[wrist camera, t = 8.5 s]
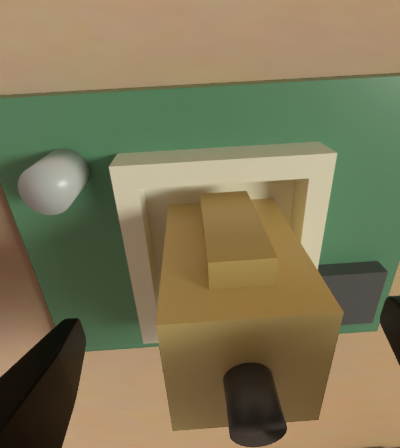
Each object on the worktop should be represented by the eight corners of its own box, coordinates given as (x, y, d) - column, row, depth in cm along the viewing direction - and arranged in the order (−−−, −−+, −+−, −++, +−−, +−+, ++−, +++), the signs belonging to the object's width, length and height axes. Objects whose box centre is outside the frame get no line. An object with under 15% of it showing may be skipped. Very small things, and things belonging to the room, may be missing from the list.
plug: (266, 280, 14) (337, 471, 7) (177, 286, 14) (171, 484, 7) (273, 178, 11) (385, 329, 5) (166, 185, 11) (144, 346, 5)
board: (365, 313, 17) (401, 365, 14) (72, 334, 17) (50, 390, 14) (433, 71, 11) (516, 76, 8) (-11, 95, 11) (-78, 109, 8)
